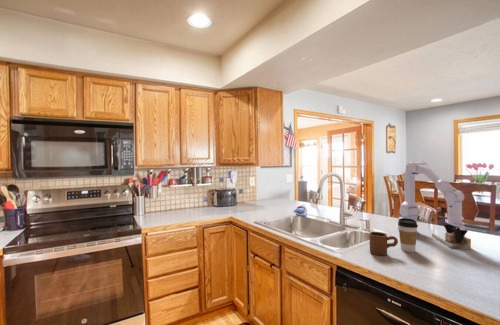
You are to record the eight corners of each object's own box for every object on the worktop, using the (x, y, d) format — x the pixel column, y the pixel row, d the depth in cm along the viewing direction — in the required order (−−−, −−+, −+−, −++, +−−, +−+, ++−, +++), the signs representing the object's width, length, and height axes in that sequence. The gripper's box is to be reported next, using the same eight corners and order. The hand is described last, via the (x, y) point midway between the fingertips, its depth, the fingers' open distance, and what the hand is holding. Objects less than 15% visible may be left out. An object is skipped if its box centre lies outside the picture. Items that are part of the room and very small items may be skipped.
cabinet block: (450, 246, 123) (449, 233, 123) (445, 243, 128) (445, 231, 128) (462, 247, 122) (462, 234, 122) (457, 244, 126) (457, 231, 126)
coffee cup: (416, 248, 122) (415, 218, 122) (420, 254, 114) (419, 223, 114) (397, 246, 126) (396, 217, 125) (399, 251, 118) (399, 221, 118)
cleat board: (449, 247, 122) (449, 238, 122) (431, 236, 140) (431, 227, 140) (470, 249, 119) (470, 239, 119) (450, 237, 138) (450, 228, 138)
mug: (397, 253, 116) (397, 233, 116) (398, 259, 109) (398, 238, 109) (369, 249, 122) (369, 230, 122) (369, 254, 115) (369, 235, 115)
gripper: (472, 217, 117) (472, 245, 117) (455, 211, 131) (456, 236, 131) (455, 217, 118) (455, 244, 119) (440, 210, 132) (440, 235, 133)
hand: (454, 240), depth 125 cm, fingers open, 7 cm apart
